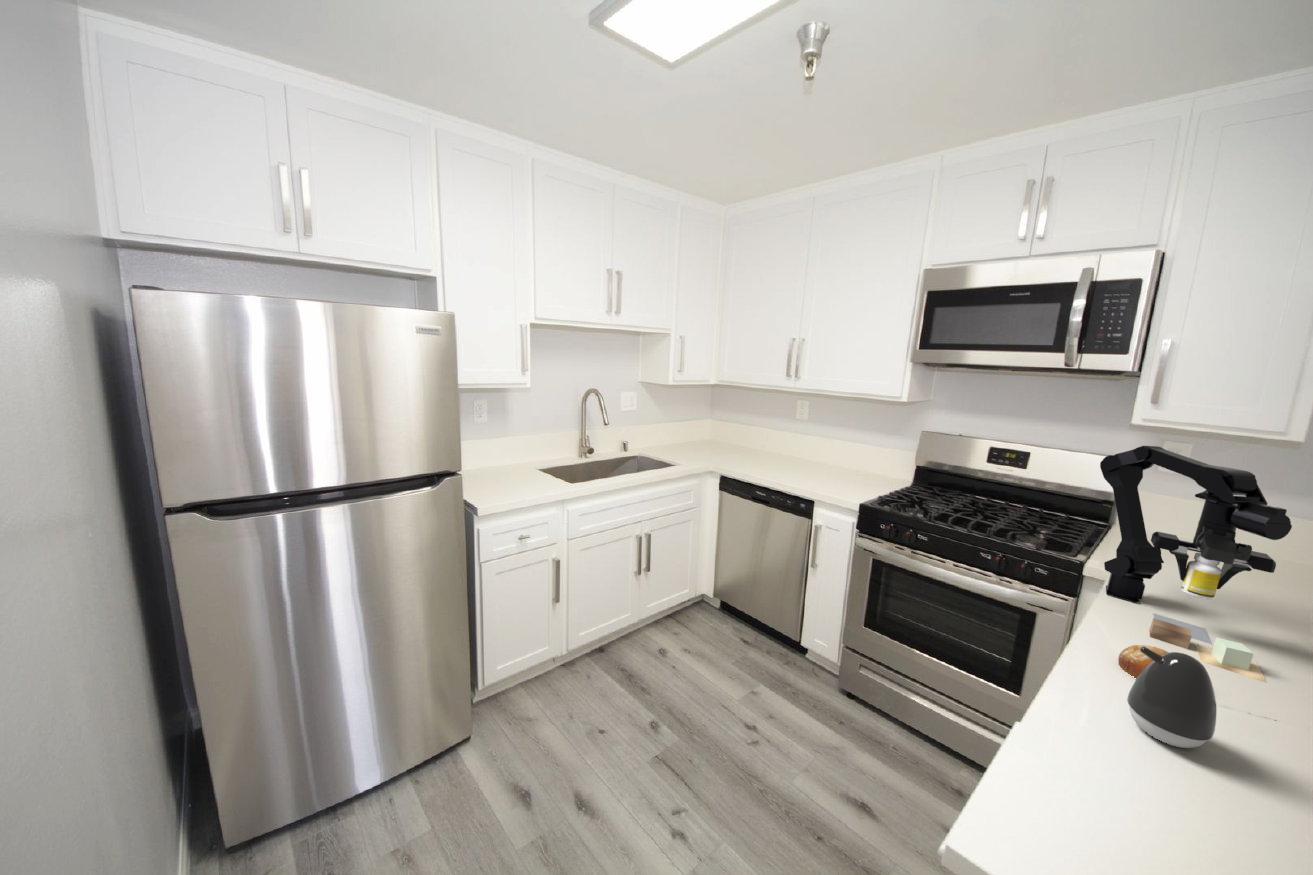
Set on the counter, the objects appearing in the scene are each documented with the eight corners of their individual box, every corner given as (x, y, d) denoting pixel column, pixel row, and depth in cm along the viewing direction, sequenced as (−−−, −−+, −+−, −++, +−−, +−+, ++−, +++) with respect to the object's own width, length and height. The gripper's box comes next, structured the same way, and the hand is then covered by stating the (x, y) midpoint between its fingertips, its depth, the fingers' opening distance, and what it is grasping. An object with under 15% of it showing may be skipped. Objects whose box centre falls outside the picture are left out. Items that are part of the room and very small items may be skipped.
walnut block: (1149, 639, 112) (1153, 624, 111) (1148, 633, 114) (1153, 617, 114) (1186, 652, 107) (1191, 636, 107) (1185, 645, 110) (1190, 629, 109)
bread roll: (1168, 689, 100) (1166, 649, 102) (1207, 701, 90) (1204, 656, 92) (1109, 676, 103) (1108, 637, 105) (1141, 686, 94) (1139, 643, 95)
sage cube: (1221, 663, 103) (1226, 647, 102) (1210, 653, 106) (1216, 637, 105) (1248, 670, 101) (1253, 653, 100) (1236, 659, 104) (1241, 643, 104)
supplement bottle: (1220, 601, 112) (1232, 562, 110) (1194, 598, 112) (1205, 559, 111) (1199, 590, 117) (1209, 552, 115) (1173, 587, 118) (1184, 549, 116)
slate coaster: (1155, 629, 116) (1156, 627, 116) (1152, 615, 123) (1153, 613, 122) (1211, 646, 110) (1212, 644, 110) (1204, 630, 117) (1205, 628, 117)
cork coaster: (1200, 663, 103) (1201, 661, 103) (1194, 645, 110) (1195, 643, 110) (1266, 685, 97) (1267, 682, 97) (1255, 664, 104) (1256, 662, 104)
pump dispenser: (1117, 702, 90) (1138, 629, 87) (1199, 732, 83) (1224, 655, 80) (1123, 734, 82) (1146, 655, 79) (1214, 770, 76) (1242, 686, 73)
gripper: (1166, 519, 111) (1149, 582, 114) (1295, 544, 99) (1272, 613, 102) (1158, 508, 119) (1142, 567, 122) (1276, 530, 108) (1255, 594, 111)
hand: (1199, 584), depth 114 cm, fingers closed on supplement bottle, 5 cm apart
